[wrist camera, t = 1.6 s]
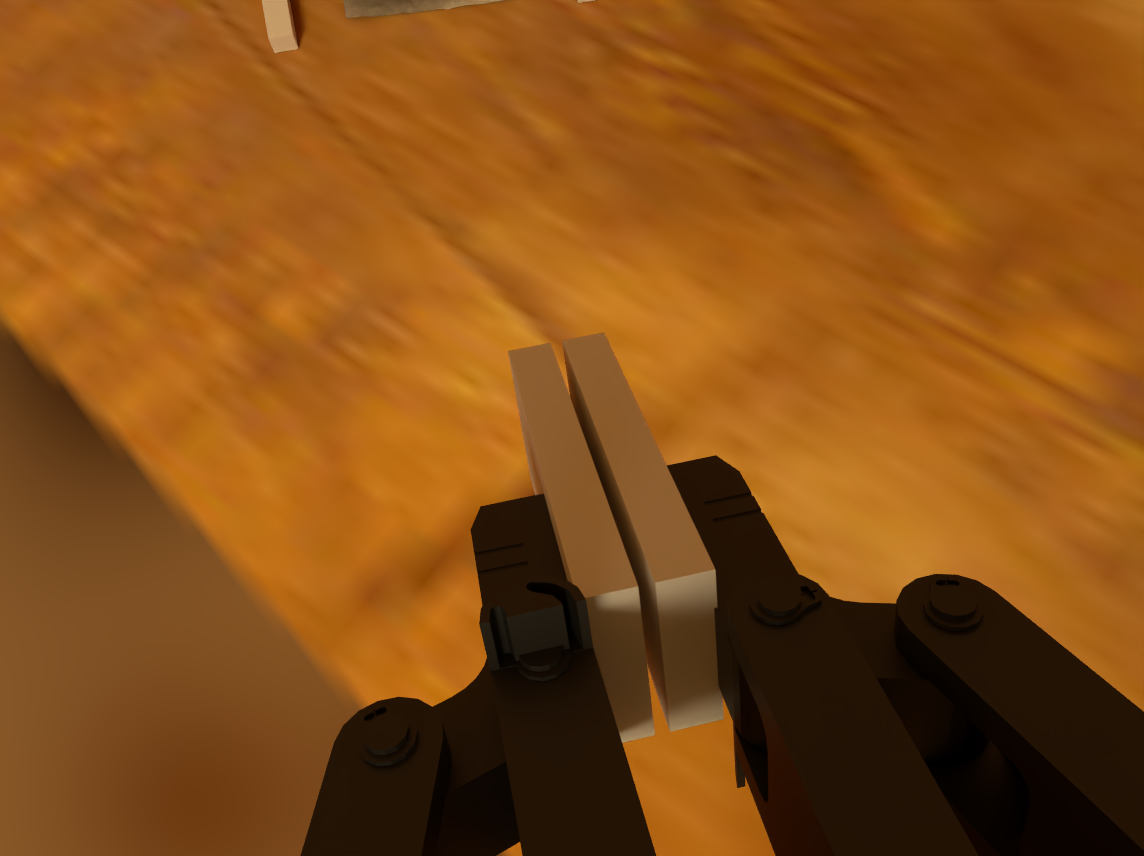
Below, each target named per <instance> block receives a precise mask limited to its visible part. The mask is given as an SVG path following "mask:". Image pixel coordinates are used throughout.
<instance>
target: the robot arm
mask: <svg viewBox="0 0 1144 856" xmlns="http://www.w3.org/2000/svg"><path fill="white" fill-rule="evenodd" d="M562 343H563V350H564V357H565V364H566V371H567V378H568V385H569V392H570V396H569V393H568V390H567V388H566V385H565V382H564V379H563V376H562V374H561V371H560V368H559V365H558V363H557V360H556V357H555V354H554V352H553V349H552V346H551V343H547V344H542V345H537V346H532V347H527V348H522V349H517V350H511V351H508V353H509V358H510V364H511V370H512V375H513V381H514V386H515V392H516V398H517V403H518V409H519V415H520V420H521V426H522V432H523V437H524V443H525V449H526V454H527V460H528V466H529V471H530V477H531V480H532V484H533V488H534V492H535V495H534V496H529V497H524V498H519V499H514V500H510V501H505V502H500V503H495V504H490V505H486V506H481V507H480V509H479V512H478V514H477V516H476V519H475V521H474V523H473V526H472V528H471V535H472V541H473V547H474V554H475V560H476V567H477V573H478V579H479V586H480V592H481V598H482V605H483V606H482V608H481V613H480V622H479V624H480V629H481V633H482V637H483V641H484V646H485V650H486V654H487V659H486V662H485V665H484V667H483V669H482V670H481V672H480V673H479V675H478V676H477V678H476V679H475V680H474V681H473V682H471V683H470V684H469V685H468V686H467V687H466V688H465V689H464V690H462V691H460V692H459V693H457V694H456V695H454V696H453V697H451V698H449V699H447V700H445V701H443V702H441V703H439V704H437V705H435V706H433V707H432V706H430V705H428V704H426V703H424V702H423V701H421V700H419V699H413V698H405V697H396V698H391V699H386V700H381V701H377V702H375V703H373V704H371V705H369V706H367V707H365V708H364V709H362V710H360V711H358V712H357V713H356V714H355V715H354V716H353V717H352V718H351V719H350V720H349V721H348V722H347V723H345V724H344V725H343V727H342V729H341V731H340V733H339V734H338V737H337V738H336V740H335V742H334V745H333V748H332V752H331V755H330V758H329V762H328V765H327V768H326V772H325V775H324V779H323V782H322V785H321V789H320V792H319V795H318V799H317V802H316V806H315V809H314V812H313V816H312V819H311V823H310V826H309V830H308V833H307V836H306V840H305V843H304V846H303V849H302V853H301V856H496V855H498V854H500V853H502V852H503V851H505V850H507V849H508V848H510V847H512V846H513V845H515V844H517V843H518V842H520V843H521V849H522V854H523V856H656V853H655V850H654V847H653V843H652V840H651V837H650V834H649V830H648V827H647V824H646V820H645V817H644V814H643V810H642V807H641V804H640V800H639V797H638V794H637V790H636V787H635V784H634V781H633V777H632V774H631V771H630V767H629V764H628V761H627V757H626V754H625V751H624V747H623V744H622V743H623V742H627V741H632V740H636V739H640V738H645V737H649V736H653V735H655V732H654V723H653V714H652V705H651V696H650V687H649V678H648V669H647V665H648V668H649V671H650V674H651V677H652V680H653V683H654V686H655V689H656V692H657V695H658V697H659V700H660V703H661V706H662V709H663V712H664V715H665V718H666V721H667V724H668V727H669V730H670V731H675V730H679V729H683V728H688V727H692V726H696V725H701V724H705V723H709V722H713V721H718V720H722V719H723V701H722V696H723V698H724V700H725V703H726V705H727V708H728V710H729V713H730V715H731V717H732V720H733V731H734V753H735V774H736V781H737V788H740V787H744V786H745V777H746V780H747V782H748V785H749V787H750V790H751V793H752V795H753V798H754V800H755V803H756V806H757V808H758V811H759V814H760V816H761V819H762V821H763V824H764V827H765V829H766V832H767V834H768V837H769V840H770V842H771V845H772V848H773V850H774V853H775V855H776V856H1144V712H1143V711H1142V710H1141V709H1140V708H1138V707H1137V706H1136V705H1135V704H1133V703H1132V702H1131V701H1130V700H1129V699H1127V698H1126V697H1125V696H1124V695H1122V694H1121V693H1120V692H1119V691H1117V690H1116V689H1115V688H1114V687H1112V686H1111V685H1110V684H1109V683H1108V682H1106V681H1105V680H1104V679H1103V678H1101V677H1100V676H1099V675H1098V674H1096V673H1095V672H1094V671H1093V670H1092V669H1090V668H1089V667H1088V666H1087V665H1085V664H1084V663H1083V662H1082V661H1080V660H1079V659H1078V658H1077V657H1076V656H1074V655H1073V654H1072V653H1071V652H1069V651H1068V650H1067V649H1066V648H1064V647H1063V646H1062V645H1061V644H1059V643H1058V642H1057V641H1056V640H1055V639H1053V638H1052V637H1051V636H1050V635H1048V634H1047V633H1046V632H1045V631H1043V630H1042V629H1041V628H1040V627H1039V626H1037V625H1036V624H1035V623H1034V622H1032V621H1031V620H1030V619H1029V618H1027V617H1026V616H1025V615H1024V614H1022V613H1021V612H1020V611H1019V610H1018V609H1016V608H1015V607H1014V606H1013V605H1011V604H1010V603H1009V602H1008V601H1006V600H1005V599H1004V598H1003V597H1002V596H1000V595H999V594H998V593H997V592H995V591H994V590H992V589H991V588H989V587H987V586H985V585H984V584H982V583H980V582H979V581H977V580H973V579H970V578H966V577H963V576H959V575H949V574H933V575H929V576H925V577H921V578H917V579H915V580H914V581H912V582H911V583H909V584H908V585H907V586H905V587H904V588H903V589H902V591H901V593H900V595H899V597H898V599H897V602H896V604H890V603H859V602H850V601H843V600H840V599H836V598H833V597H829V595H828V594H827V593H826V592H825V591H824V590H823V589H822V588H821V586H820V585H819V584H818V583H816V582H814V581H812V580H810V579H808V578H806V577H804V576H802V575H799V574H798V572H797V571H796V569H795V567H794V566H793V564H792V562H791V560H790V559H789V557H788V555H787V553H786V552H785V550H784V548H783V546H782V545H781V543H780V541H779V540H778V538H777V536H776V534H775V533H774V531H773V529H772V527H771V526H770V524H769V522H768V520H767V519H766V517H765V515H764V513H762V512H761V508H760V507H759V505H758V503H757V501H756V500H755V498H754V496H752V494H751V491H750V489H749V487H748V486H747V484H746V482H745V480H744V479H743V477H742V475H741V474H740V472H739V471H738V470H737V469H735V468H734V467H732V466H731V465H729V464H728V463H726V462H725V461H723V460H722V459H720V458H719V457H717V456H716V455H715V456H711V457H706V458H701V459H696V460H691V461H687V462H682V463H677V464H672V465H666V463H665V461H664V459H663V457H662V455H661V453H660V451H659V448H658V446H657V444H656V442H655V440H654V438H653V436H652V434H651V431H650V429H649V427H648V425H647V423H646V421H645V419H644V417H643V414H642V412H641V410H640V408H639V406H638V404H637V402H636V400H635V397H634V395H633V393H632V391H631V389H630V387H629V385H628V383H627V380H626V378H625V376H624V374H623V372H622V370H621V368H620V366H619V363H618V361H617V359H616V357H615V355H614V353H613V351H612V349H611V346H610V344H609V342H608V340H607V338H606V336H605V334H604V333H599V334H594V335H589V336H583V337H578V338H573V339H568V340H563V341H562Z"/></svg>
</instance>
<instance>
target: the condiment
mask: <svg viewBox="0 0 1144 856" xmlns="http://www.w3.org/2000/svg"><path fill="white" fill-rule="evenodd" d="M494 1H501V0H344V7H345V14H346V18H351V17H361V16H368V17H373V16H380V15H392V14H398V13H413V12H421V11H428V10H435V9H451V8H453V7H458V6H464V5H471V4H485V3H490V2H494Z"/></svg>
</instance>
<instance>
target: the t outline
mask: <svg viewBox="0 0 1144 856" xmlns="http://www.w3.org/2000/svg"><path fill="white" fill-rule="evenodd" d="M577 1H578V3H581V2H587V1H593V0H577ZM262 3H263V9H264V15H265V21H266V27H267V33H268V38H269V41H270V43H271V46H272V48H273V50H274V53H276V52H282V51H289V50H295V49H298V43H297V37H296V32H295V26H294V20H293V15H292V9H291V4H290V0H262Z"/></svg>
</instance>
